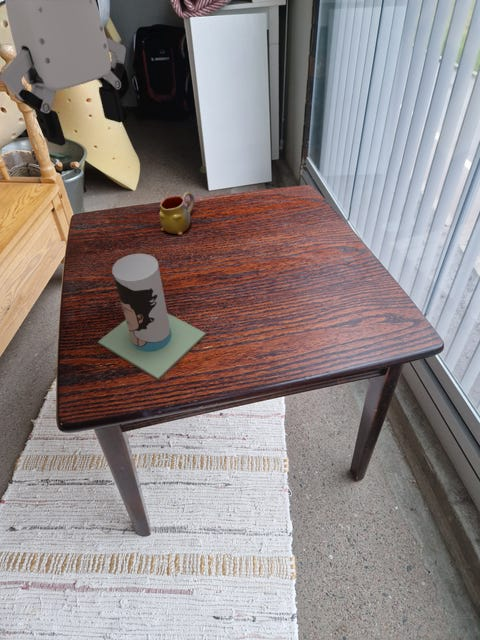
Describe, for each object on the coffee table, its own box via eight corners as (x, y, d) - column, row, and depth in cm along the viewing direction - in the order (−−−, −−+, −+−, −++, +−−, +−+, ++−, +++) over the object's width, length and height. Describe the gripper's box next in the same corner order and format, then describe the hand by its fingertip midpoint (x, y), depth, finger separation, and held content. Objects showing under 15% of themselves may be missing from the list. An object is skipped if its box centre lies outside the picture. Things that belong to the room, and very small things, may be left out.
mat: (158, 380, 66) (158, 378, 66) (98, 343, 72) (97, 341, 72) (206, 335, 73) (205, 332, 73) (147, 305, 79) (147, 302, 79)
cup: (148, 318, 76) (132, 249, 65) (179, 331, 73) (167, 261, 63) (123, 342, 71) (102, 272, 61) (155, 357, 69) (138, 286, 58)
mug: (179, 238, 95) (176, 212, 91) (155, 231, 98) (150, 205, 93) (207, 214, 103) (205, 188, 98) (184, 208, 105) (181, 182, 101)
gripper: (85, -44, 51) (116, 108, 63) (-57, -31, 41) (12, 146, 53) (128, -42, 48) (152, 117, 59) (-14, -28, 38) (49, 160, 50)
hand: (86, 131), depth 56 cm, fingers open, 9 cm apart
